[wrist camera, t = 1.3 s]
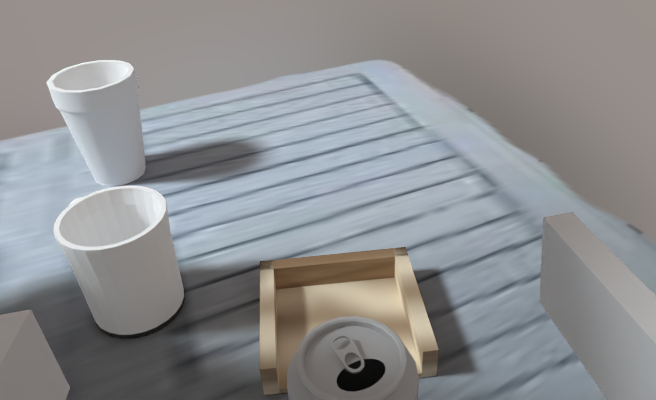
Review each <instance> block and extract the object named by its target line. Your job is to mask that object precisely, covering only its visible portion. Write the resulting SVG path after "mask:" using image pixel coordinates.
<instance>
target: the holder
mask: <svg viewBox="0 0 656 400" xmlns="http://www.w3.org/2000/svg"><path fill="white" fill-rule="evenodd" d="M349 316H359V317H364V318H370V319H374V320H376V321H378V322H380V323H383V324H385V325H387V326H388V327H389V328H390V329H392V330H393V331H394V332H395V333H396V334H398V335H399V337H400V339H401V340H402V342H403V343H404V345H405V347H407V349H408V351H409V352H410V354H411V356H412V357H413V359H414V360H415V362H416V367H417V372H418V377H419V378H422V377H431V376H437V366H438V355H439V349H438V346H437V343H436V340H435V336H434V333H433V330H432V327H431V324H430V321H429V318H428V315H427V312H426V309H425V306H424V303H423V300H422V297H421V294H420V291H419V287H418V284H417V281H416V278H415V275H414V272H413V269H412V266H411V263H410V260H409V257H408V254H407V251H406V248H405V247H401V248H391V249H381V250H371V251H361V252H351V253H341V254H331V255H321V256H311V257H301V258H290V259H280V260H270V261H260V374H261V380H262V385H263V391H264V395H270V394H279V393H288V391H287V370H288V367H289V365H290V363H291V360H292V358H293V355H294V354H295V352H296V351H297V350H298V348H299V346H300V343H301V341H302V340H303V339H304V338H305V336H306V335H307V334H308V333H309V332H310V331H311V330H312V329H314V328H315V327H317V326H318V325H320V324H322V323H323V322H325V321H329V320H332V319H335V318H338V317H349Z"/></svg>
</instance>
